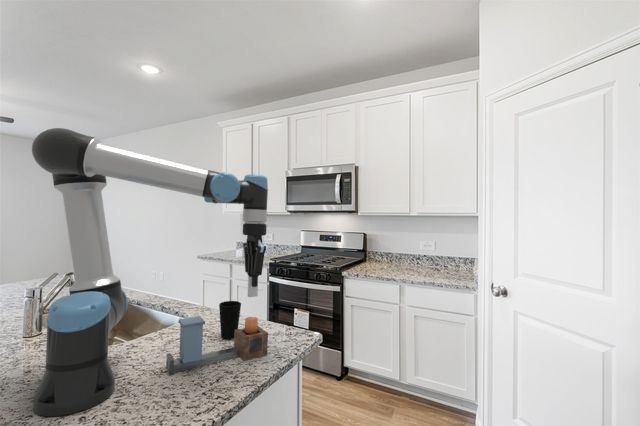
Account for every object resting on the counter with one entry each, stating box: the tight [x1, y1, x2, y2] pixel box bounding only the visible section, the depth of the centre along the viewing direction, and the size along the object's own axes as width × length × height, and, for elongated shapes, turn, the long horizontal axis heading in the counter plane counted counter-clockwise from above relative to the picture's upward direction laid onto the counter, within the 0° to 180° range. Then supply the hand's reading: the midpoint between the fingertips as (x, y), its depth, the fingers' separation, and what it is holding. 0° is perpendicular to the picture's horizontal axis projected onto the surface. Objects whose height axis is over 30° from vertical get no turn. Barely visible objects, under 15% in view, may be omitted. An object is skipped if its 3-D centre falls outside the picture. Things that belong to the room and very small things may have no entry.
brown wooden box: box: [233, 325, 269, 362], centre depth 100 cm, size 8×8×7 cm
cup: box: [218, 300, 242, 341], centre depth 113 cm, size 8×8×12 cm
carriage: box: [178, 315, 206, 363], centre depth 91 cm, size 6×6×11 cm
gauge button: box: [244, 316, 259, 334], centre depth 100 cm, size 4×4×4 cm
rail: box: [165, 346, 240, 376], centre depth 93 cm, size 21×5×4 cm, turn 126°
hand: (252, 296), depth 100 cm, fingers closed
